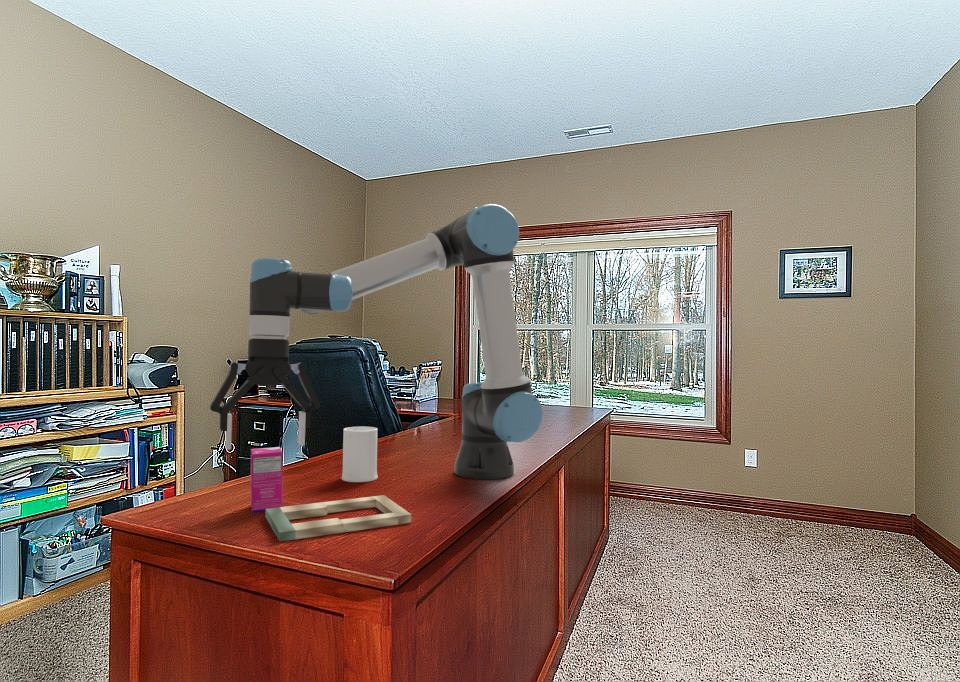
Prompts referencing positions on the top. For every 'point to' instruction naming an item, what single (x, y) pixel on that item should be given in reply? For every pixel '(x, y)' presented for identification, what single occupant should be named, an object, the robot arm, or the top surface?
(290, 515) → the cream and green frame
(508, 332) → the robot arm
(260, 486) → the supplement box
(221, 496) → the top surface
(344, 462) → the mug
